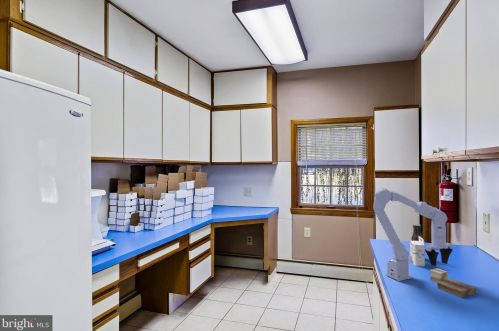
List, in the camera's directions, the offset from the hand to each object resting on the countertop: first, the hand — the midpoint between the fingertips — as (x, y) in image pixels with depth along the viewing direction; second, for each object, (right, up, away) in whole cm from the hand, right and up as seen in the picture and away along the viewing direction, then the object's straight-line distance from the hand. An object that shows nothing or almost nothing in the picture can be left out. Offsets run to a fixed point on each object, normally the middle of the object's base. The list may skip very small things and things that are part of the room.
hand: (438, 264), depth 137 cm
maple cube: (0, -8, 0) cm, 8 cm away
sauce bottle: (+9, -8, +32) cm, 35 cm away
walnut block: (+1, -9, -10) cm, 13 cm away
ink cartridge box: (+4, -8, +24) cm, 26 cm away
